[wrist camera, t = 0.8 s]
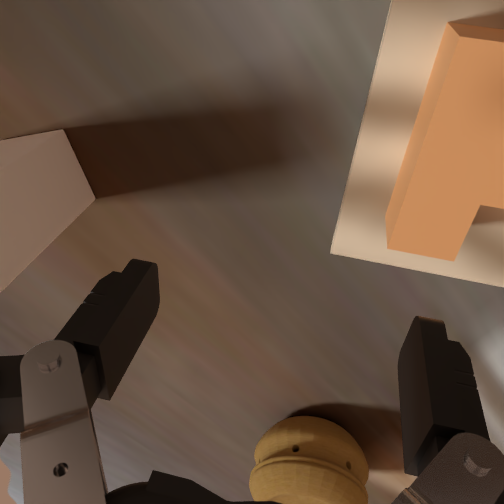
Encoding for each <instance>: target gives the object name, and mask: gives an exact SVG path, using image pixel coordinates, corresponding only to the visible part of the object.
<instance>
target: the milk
mask: <svg viewBox="0 0 504 504" xmlns="http://www.w3.org/2000/svg"><path fill="white" fill-rule="evenodd" d="M94 200H95V196H94V194H93V192H92V190H91V187H90V185H89V183H88V181H87V179H86V177H85V175H84V173H83V170H82V168H81V166H80V164H79V162H78V160H77V158H76V155H75V153H74V151H73V149H72V147H71V145H70V143H69V140H68V138H67V136H66V134H65V132H64V130H63V129H61V130H55V131H50V132H44V133H39V134H33V135H28V136H22V137H17V138H11V139H5V140H1V141H0V293H1V292H2V291H3V290H4V289H5V288H6V287H7V286H8V285H9V284H10V283H11V282H12V281H13V280H14V279H15V278H16V277H17V276H18V275H19V274H20V273H21V272H22V271H23V270H24V269H25V268H26V267H27V266H28V265H29V264H30V263H31V262H32V261H33V260H34V259H35V258H36V257H37V256H38V255H39V254H40V253H41V252H42V251H43V250H44V249H45V248H46V247H47V246H48V245H49V244H50V243H51V242H52V241H53V240H54V239H55V238H57V237H58V236H59V235H60V234H61V233H62V232H63V231H64V230H65V229H66V228H67V227H68V226H69V225H70V224H71V223H72V222H73V221H74V220H75V219H76V218H77V217H78V216H79V215H80V214H81V213H82V212H83V211H84V210H85V209H86V208H87V207H88V206H89V205H90V204H91V203H92V202H93V201H94Z"/></svg>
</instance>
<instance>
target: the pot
mask: <svg viewBox="0 0 504 504" xmlns="http://www.w3.org/2000/svg"><path fill="white" fill-rule="evenodd" d="M254 457H255V461H256V466H255V467H254V469H253V470H252V471H251V475H250V482H249V487H250V491H251V494H252V497H253V499H254V501H274V502H278V503H282V504H368V494H367V491H366V488H365V484H366V482H367V480H368V475H369V467H368V463H367V461H366V458H365V455H364V453H363V451H362V450H361V448H360V446H359V445H358V443H357V442H356V441H355V439H354V438H353V437H352V436H351V435H350V434H349V433H348V432H347V431H346V430H345V429H343V428H342V427H340V426H339V425H337V424H335V423H333V422H331V421H328V420H326V419H323V418H319V417H313V416H296V417H290V418H287V419H284V420H282V421H280V422H278V423H277V424H275V425H274V426H273V427H271V428H270V429H269V430H268V431H267V432H266V433H265V434H264V435H263V437H262V438H261V439H260V441H259V442H258V444H257V446H256V449H255V455H254Z"/></svg>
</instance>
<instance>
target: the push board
mask: <svg viewBox="0 0 504 504" xmlns="http://www.w3.org/2000/svg"><path fill="white" fill-rule="evenodd" d="M447 22H451V23H458V24H466V25H473V26H481V27H489V28H496V29H504V0H391V4H390V8H389V12H388V16H387V20H386V24H385V28H384V32H383V36H382V40H381V45H380V49H379V53H378V57H377V61H376V65H375V69H374V73H373V77H372V81H371V85H370V89H369V94H368V98H367V102H366V106H365V110H364V114H363V118H362V122H361V126H360V130H359V134H358V138H357V143H356V147H355V151H354V155H353V159H352V163H351V167H350V171H349V175H348V179H347V183H346V187H345V192H344V196H343V200H342V204H341V208H340V212H339V216H338V220H337V224H336V228H335V232H334V236H333V241H332V245H331V252H330V253H332V254H337V255H342V256H347V257H352V258H357V259H362V260H367V261H372V262H377V263H383V264H388V265H393V266H398V267H403V268H408V269H413V270H418V271H423V272H428V273H433V274H439V275H444V276H449V277H454V278H459V279H464V280H469V281H474V282H479V283H484V284H489V285H495V286H500V287H504V209H501V208H496V207H490V206H484V205H480V207H479V209H478V211H477V213H476V215H475V217H474V220H473V222H472V224H471V226H470V228H469V230H468V233H467V235H466V237H465V239H464V241H463V243H462V245H461V248H460V250H459V252H458V254H457V256H456V258H455V260H454V262H453V261H448V260H443V259H438V258H432V257H427V256H422V255H417V254H412V253H407V252H401V251H396V250H391V249H387V238H386V221H385V215H386V212H387V208H388V205H389V202H390V199H391V196H392V193H393V190H394V187H395V183H396V180H397V177H398V174H399V171H400V168H401V165H402V162H403V158H404V155H405V152H406V149H407V146H408V143H409V140H410V137H411V133H412V130H413V127H414V124H415V121H416V118H417V115H418V112H419V108H420V105H421V102H422V99H423V96H424V93H425V90H426V87H427V83H428V80H429V77H430V74H431V71H432V68H433V65H434V62H435V58H436V55H437V52H438V49H439V46H440V43H441V40H442V37H443V33H444V30H445V27H446V24H447Z"/></svg>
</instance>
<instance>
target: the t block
mask: <svg viewBox="0 0 504 504" xmlns="http://www.w3.org/2000/svg"><path fill="white" fill-rule="evenodd" d="M480 205H484V206H490V207H496V208H501V209H504V29H496V28H489V27H481V26H473V25H466V24H458V23H451V22H447V24H446V27H445V30H444V33H443V37H442V40H441V43H440V46H439V49H438V52H437V55H436V58H435V62H434V65H433V68H432V71H431V74H430V77H429V80H428V83H427V87H426V90H425V93H424V96H423V99H422V102H421V105H420V108H419V112H418V115H417V118H416V121H415V124H414V127H413V130H412V133H411V137H410V140H409V143H408V146H407V149H406V152H405V155H404V158H403V162H402V165H401V168H400V171H399V174H398V177H397V180H396V183H395V187H394V190H393V193H392V196H391V199H390V202H389V205H388V208H387V212H386V215H385V221H386V238H387V249H391V250H396V251H401V252H407V253H412V254H417V255H422V256H427V257H432V258H438V259H443V260H448V261H453V262H454V260H455V258H456V256H457V254H458V252H459V250H460V248H461V245H462V243H463V241H464V239H465V237H466V235H467V233H468V230H469V228H470V226H471V224H472V222H473V220H474V217H475V215H476V213H477V211H478V209H479V207H480Z"/></svg>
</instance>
